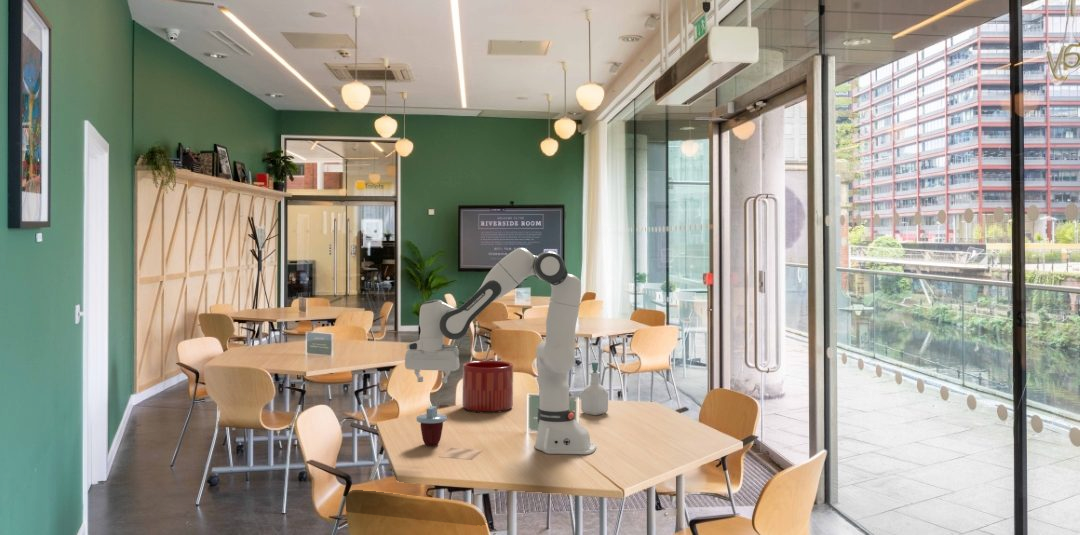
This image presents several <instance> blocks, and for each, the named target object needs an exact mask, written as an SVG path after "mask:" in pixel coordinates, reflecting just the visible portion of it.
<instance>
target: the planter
mask: <svg viewBox="0 0 1080 535" xmlns="http://www.w3.org/2000/svg"><path fill="white" fill-rule="evenodd" d="M513 406H514V364H513V363H512V362H508V361H503V360H502V361H501V360H474V361H467V362H465V363H463V364H462V407H463V409H465V410H467V411H469V412H472V411H474V412H475V413H480V412H495V413H500V412H499V411H502V412H506V411H508V410H510V409H511V408H512V407H513ZM505 410H506V411H505ZM474 412H473V413H474Z"/></svg>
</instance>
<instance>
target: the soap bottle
mask: <svg viewBox="0 0 1080 535" xmlns="http://www.w3.org/2000/svg"><path fill="white" fill-rule="evenodd" d="M590 365H591V368H592V371H590V372H589V375H590V382H589V384H587V385H586V386H585V387H584V388H583V390H582V391H581V393H580V396H581V397H580V398H581V399H580V400H581V401H580V409H581V412H582V413H583V414H587V415H592V416H598V415H603V414H606V413H608V411H609V393H608V390H607V389H606V388H605V387H604V386H603V385H602V384H601V383H600V381H599V380H600V379H599V376H600V374H601V372H600V371H598V367H599V362H597V361H595V362H591V363H588V366H590Z"/></svg>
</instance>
